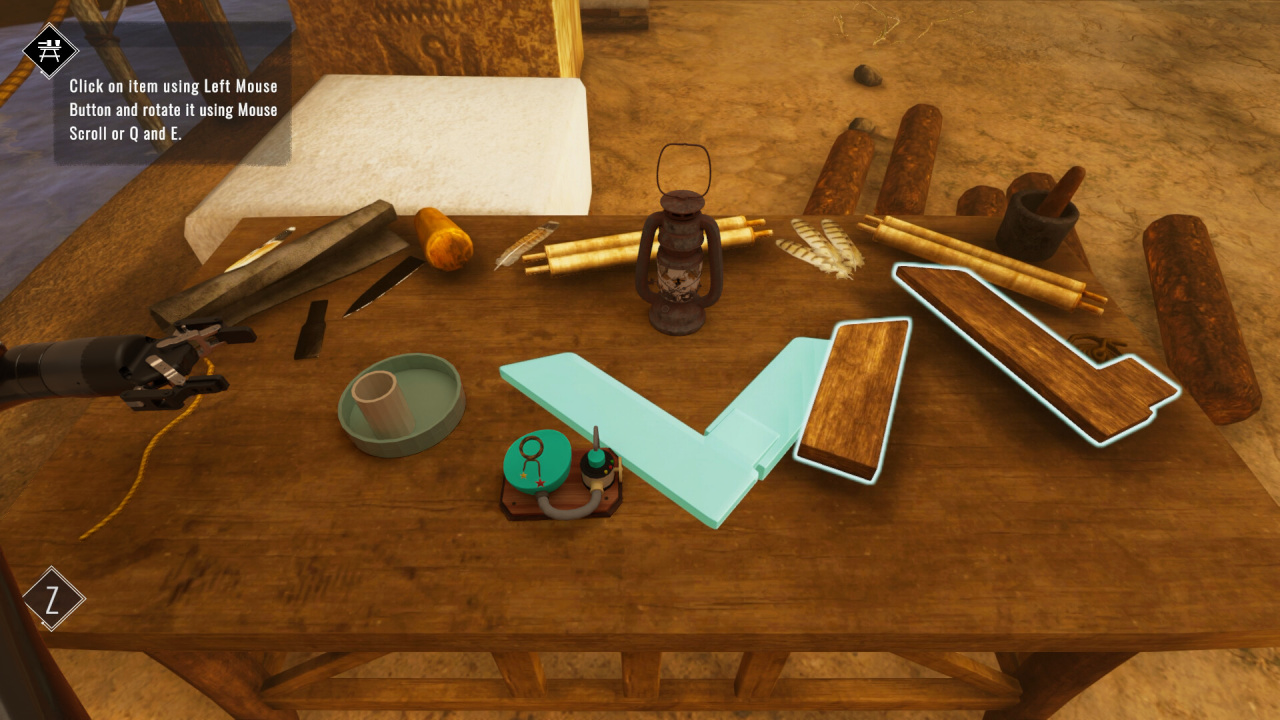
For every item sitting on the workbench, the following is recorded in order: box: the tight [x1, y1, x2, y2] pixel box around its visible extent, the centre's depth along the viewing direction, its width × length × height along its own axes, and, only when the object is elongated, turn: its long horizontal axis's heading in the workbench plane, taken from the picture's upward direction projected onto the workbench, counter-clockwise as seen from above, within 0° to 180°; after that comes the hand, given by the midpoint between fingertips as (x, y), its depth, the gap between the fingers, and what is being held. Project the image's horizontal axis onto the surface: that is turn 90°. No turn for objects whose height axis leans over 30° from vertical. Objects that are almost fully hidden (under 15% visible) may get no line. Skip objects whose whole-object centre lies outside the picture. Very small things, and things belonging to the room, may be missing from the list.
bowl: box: [337, 352, 467, 459], centre depth 94 cm, size 19×19×4 cm
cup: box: [351, 370, 415, 440], centre depth 89 cm, size 6×6×10 cm
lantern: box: [634, 142, 724, 337], centre depth 99 cm, size 11×16×35 cm
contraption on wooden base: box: [498, 425, 624, 522], centre depth 79 cm, size 14×18×15 cm
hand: (240, 357), depth 72 cm, fingers open, 8 cm apart
